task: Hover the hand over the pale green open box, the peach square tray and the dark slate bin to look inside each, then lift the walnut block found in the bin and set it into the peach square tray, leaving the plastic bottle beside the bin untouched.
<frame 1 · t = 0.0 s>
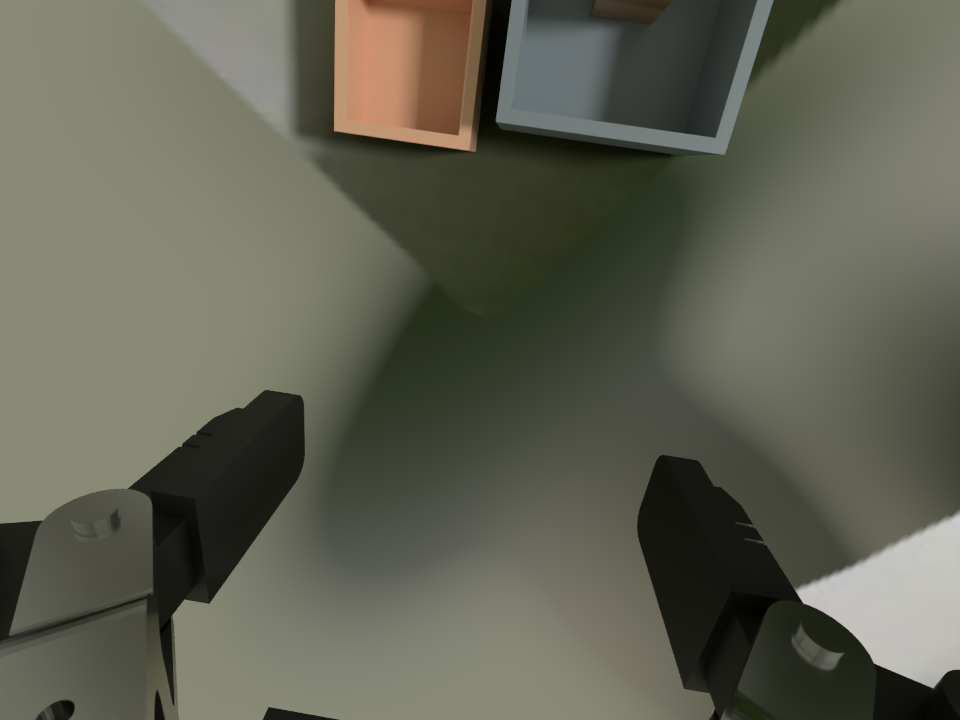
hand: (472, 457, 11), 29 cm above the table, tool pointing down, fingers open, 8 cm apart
peach square tray: (420, 73, 33), on the table
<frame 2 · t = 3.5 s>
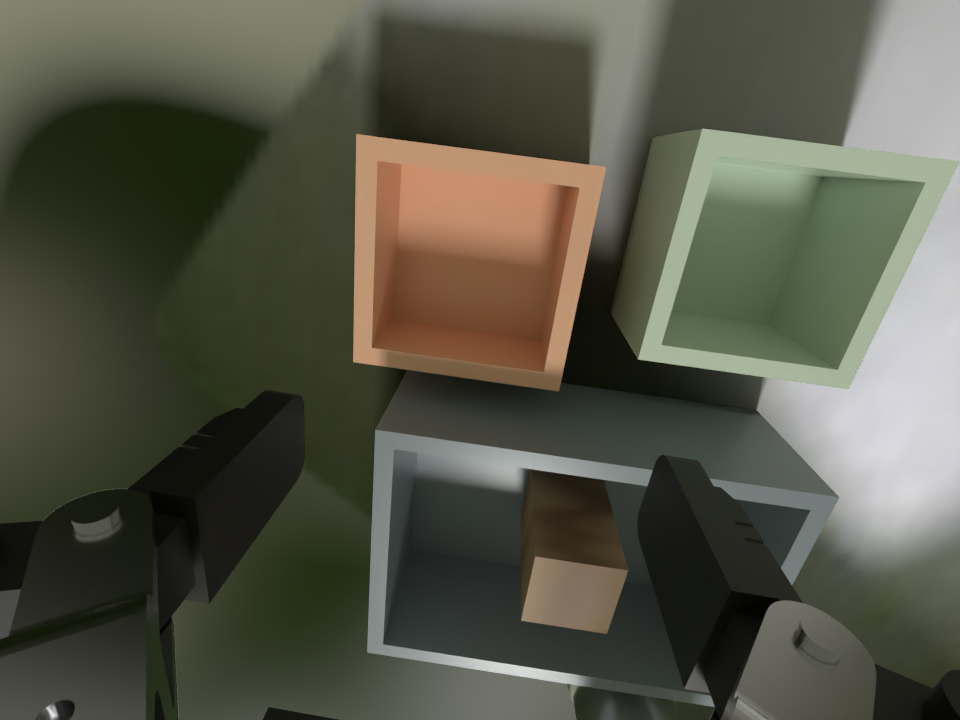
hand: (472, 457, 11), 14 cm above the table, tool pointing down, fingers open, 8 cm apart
pale green open box: (715, 242, 22), on the table
walnut block: (559, 493, 27), point 1 cm above the table, touching slate bin
peach square tray: (476, 253, 23), on the table
plastic bottle: (608, 625, 32), on the table
slate bin: (559, 487, 28), on the table
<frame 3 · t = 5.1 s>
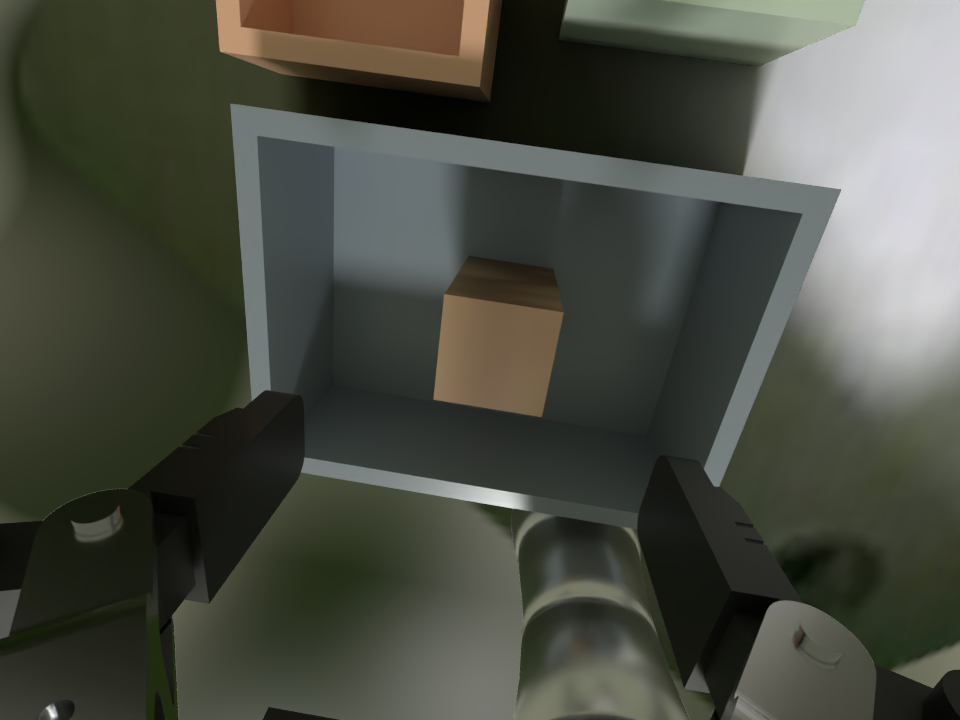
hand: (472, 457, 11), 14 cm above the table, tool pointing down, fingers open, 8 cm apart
walnut block: (504, 303, 23), point 1 cm above the table, touching slate bin
plastic bottle: (569, 492, 28), on the table
slate bin: (505, 299, 23), on the table
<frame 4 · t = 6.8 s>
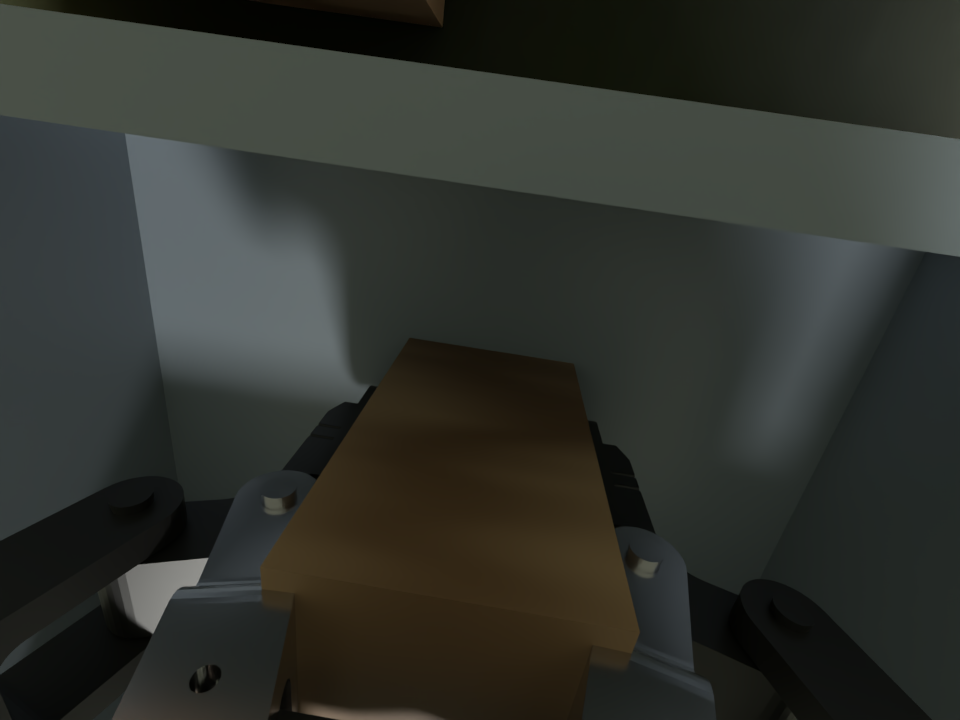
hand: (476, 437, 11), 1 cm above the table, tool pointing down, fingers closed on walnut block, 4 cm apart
walnut block: (480, 421, 12), point 1 cm above the table, touching gripper, slate bin
slate bin: (482, 410, 13), on the table
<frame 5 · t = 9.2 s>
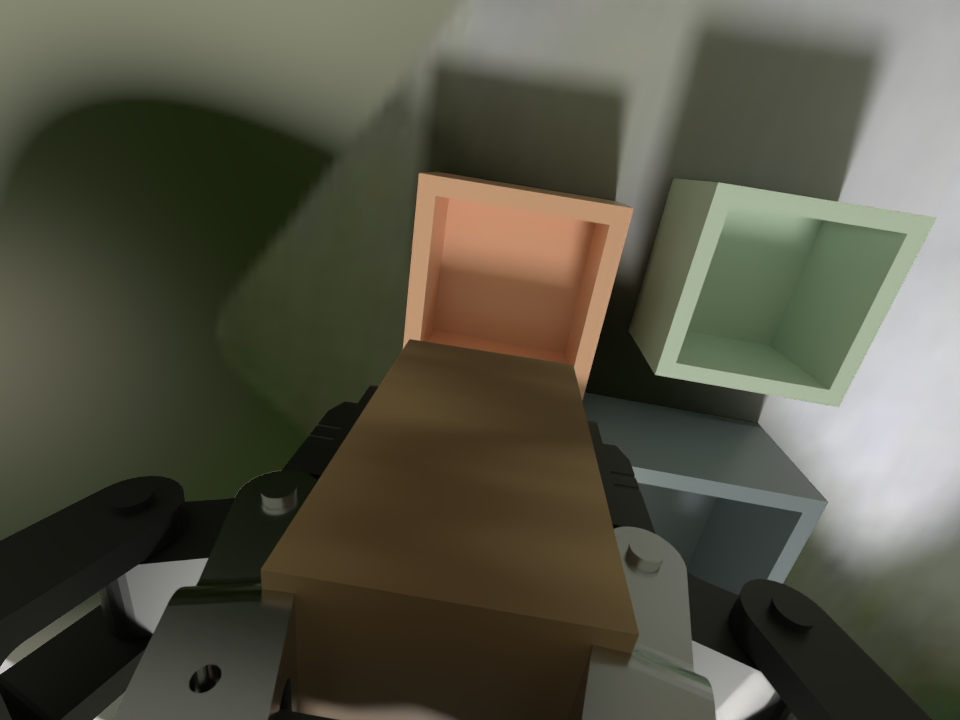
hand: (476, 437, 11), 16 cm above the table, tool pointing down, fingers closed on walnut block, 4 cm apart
pale green open box: (725, 272, 24), on the table
walnut block: (480, 422, 12), point 15 cm above the table, touching gripper
peach square tray: (510, 274, 26), on the table
slate bin: (574, 487, 30), on the table
when the fingers open (5 cm above the table, at t = 11.5 s): walnut block drops 4 cm, resting on peach square tray.
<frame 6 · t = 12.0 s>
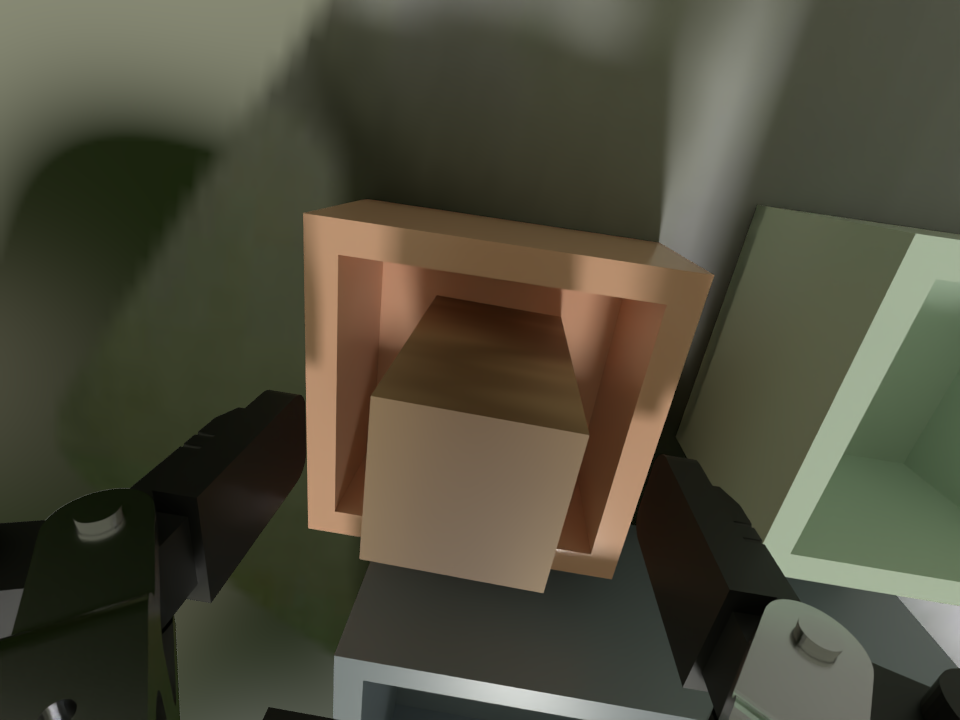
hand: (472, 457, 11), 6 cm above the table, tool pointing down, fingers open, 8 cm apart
pale green open box: (836, 352, 15), on the table
walnut block: (488, 362, 16), point 1 cm above the table, touching peach square tray
peach square tray: (490, 355, 16), on the table
slate bin: (591, 640, 21), on the table
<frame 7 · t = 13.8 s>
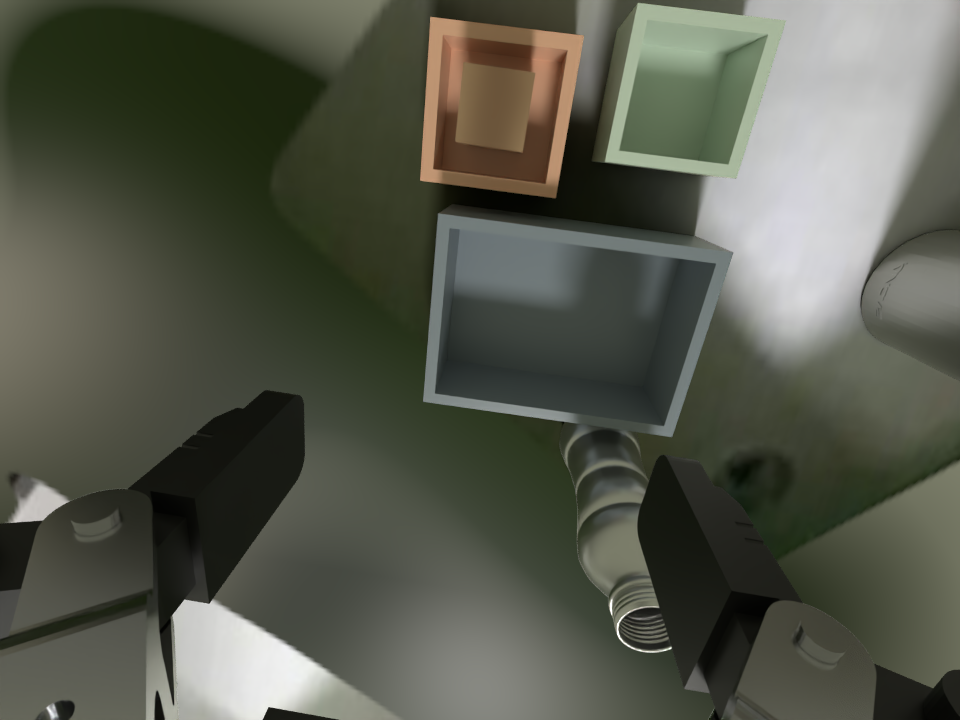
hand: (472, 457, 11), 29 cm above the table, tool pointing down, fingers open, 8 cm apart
pale green open box: (660, 106, 32), on the table
walnut block: (498, 118, 33), point 1 cm above the table, touching peach square tray
peach square tray: (499, 118, 34), on the table
plastic bottle: (594, 427, 43), on the table
slate bin: (556, 304, 39), on the table
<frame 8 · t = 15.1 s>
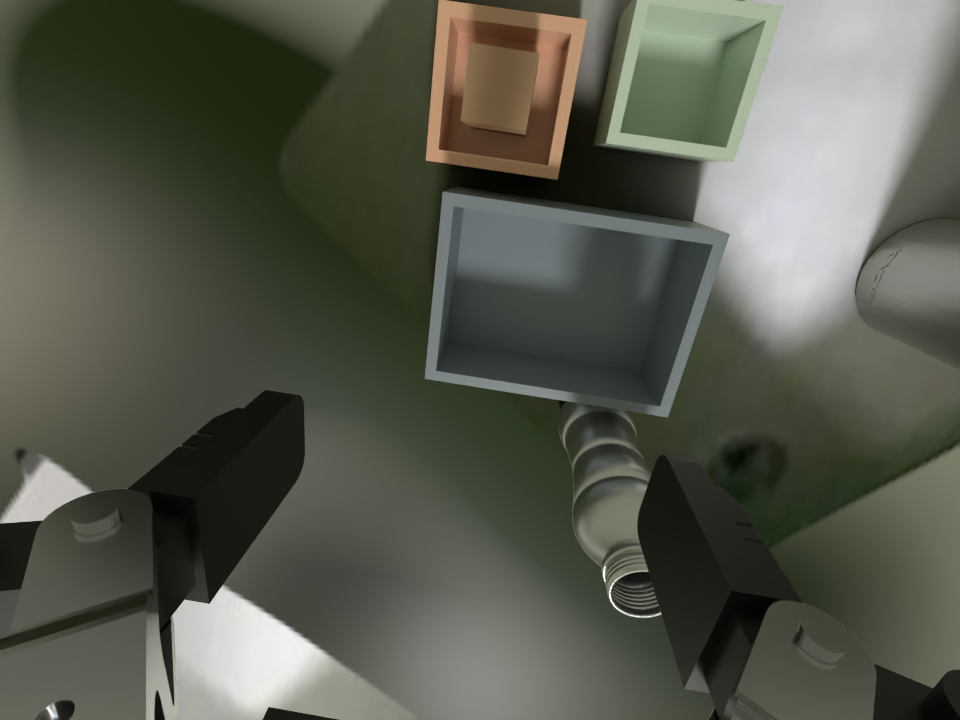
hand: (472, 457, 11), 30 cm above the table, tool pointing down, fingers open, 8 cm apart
pale green open box: (661, 92, 33), on the table
walnut block: (503, 102, 34), point 1 cm above the table, touching peach square tray
peach square tray: (504, 102, 34), on the table
plastic bottle: (592, 411, 44), on the table
slate bin: (557, 288, 39), on the table
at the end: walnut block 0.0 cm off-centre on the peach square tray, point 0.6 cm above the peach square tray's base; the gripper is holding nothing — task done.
